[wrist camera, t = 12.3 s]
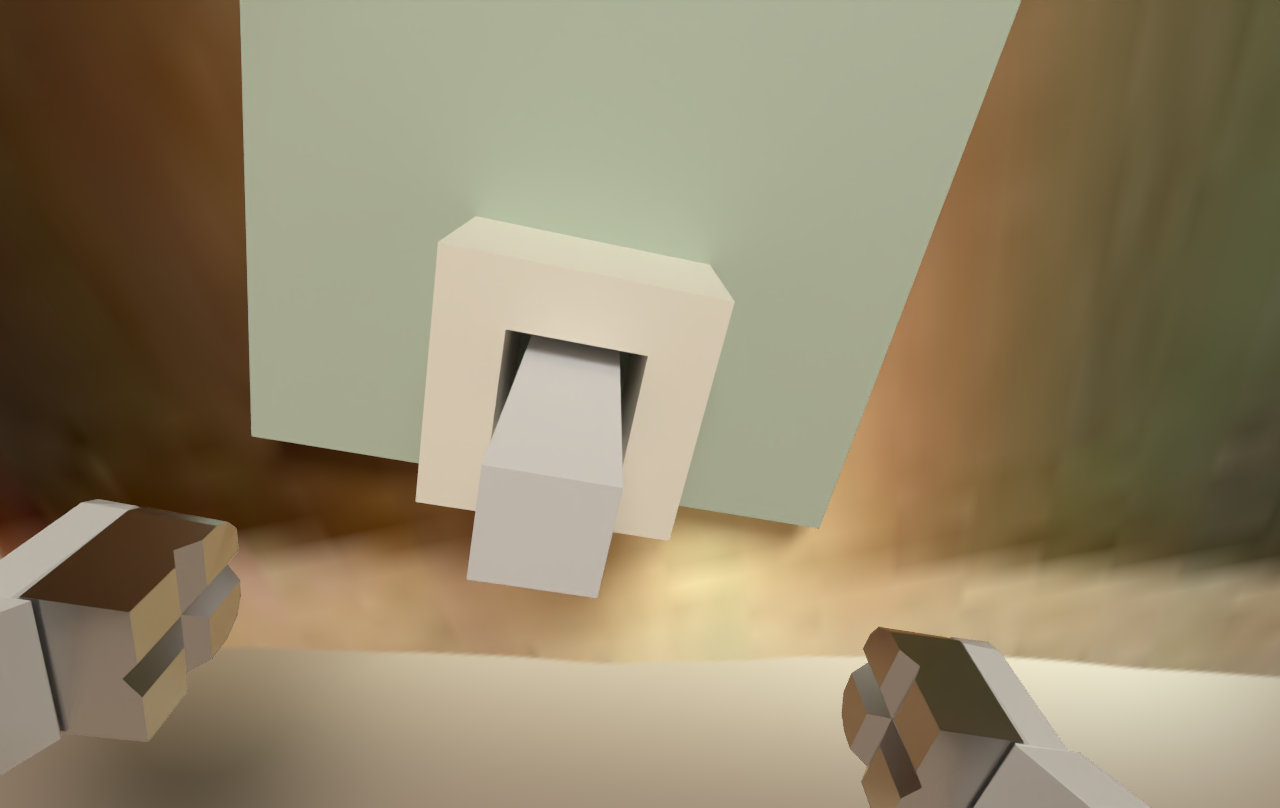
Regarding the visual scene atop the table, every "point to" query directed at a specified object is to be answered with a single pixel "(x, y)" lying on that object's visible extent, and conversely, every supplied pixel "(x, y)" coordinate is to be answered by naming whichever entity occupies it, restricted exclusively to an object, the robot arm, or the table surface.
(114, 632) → the robot arm
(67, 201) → the table surface
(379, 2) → the post board
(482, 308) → the square collar
